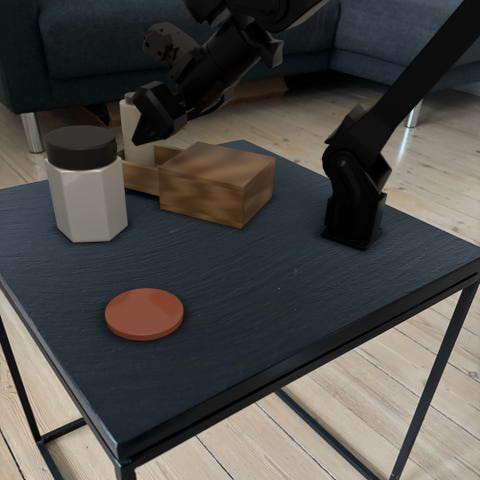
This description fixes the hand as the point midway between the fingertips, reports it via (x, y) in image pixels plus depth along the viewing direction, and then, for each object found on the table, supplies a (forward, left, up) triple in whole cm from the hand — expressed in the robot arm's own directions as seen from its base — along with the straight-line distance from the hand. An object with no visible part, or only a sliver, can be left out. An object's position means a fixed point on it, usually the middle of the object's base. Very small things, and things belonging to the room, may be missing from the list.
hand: (151, 133), depth 73 cm
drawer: (+1, 0, -7) cm, 7 cm away
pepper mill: (+2, 0, -6) cm, 7 cm away
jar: (-2, +15, -8) cm, 17 cm away
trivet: (-20, +25, -8) cm, 33 cm away
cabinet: (-10, -2, -8) cm, 13 cm away
